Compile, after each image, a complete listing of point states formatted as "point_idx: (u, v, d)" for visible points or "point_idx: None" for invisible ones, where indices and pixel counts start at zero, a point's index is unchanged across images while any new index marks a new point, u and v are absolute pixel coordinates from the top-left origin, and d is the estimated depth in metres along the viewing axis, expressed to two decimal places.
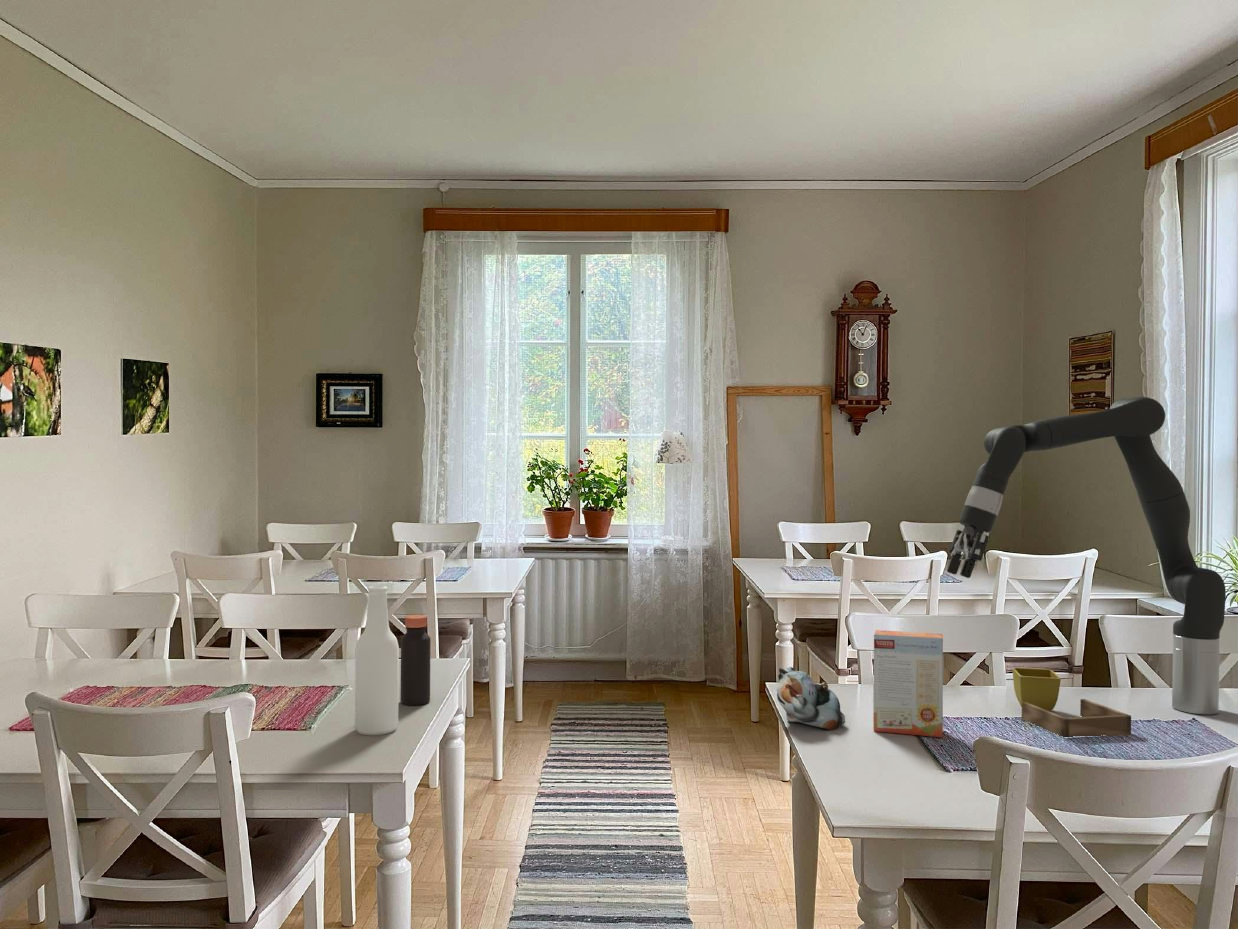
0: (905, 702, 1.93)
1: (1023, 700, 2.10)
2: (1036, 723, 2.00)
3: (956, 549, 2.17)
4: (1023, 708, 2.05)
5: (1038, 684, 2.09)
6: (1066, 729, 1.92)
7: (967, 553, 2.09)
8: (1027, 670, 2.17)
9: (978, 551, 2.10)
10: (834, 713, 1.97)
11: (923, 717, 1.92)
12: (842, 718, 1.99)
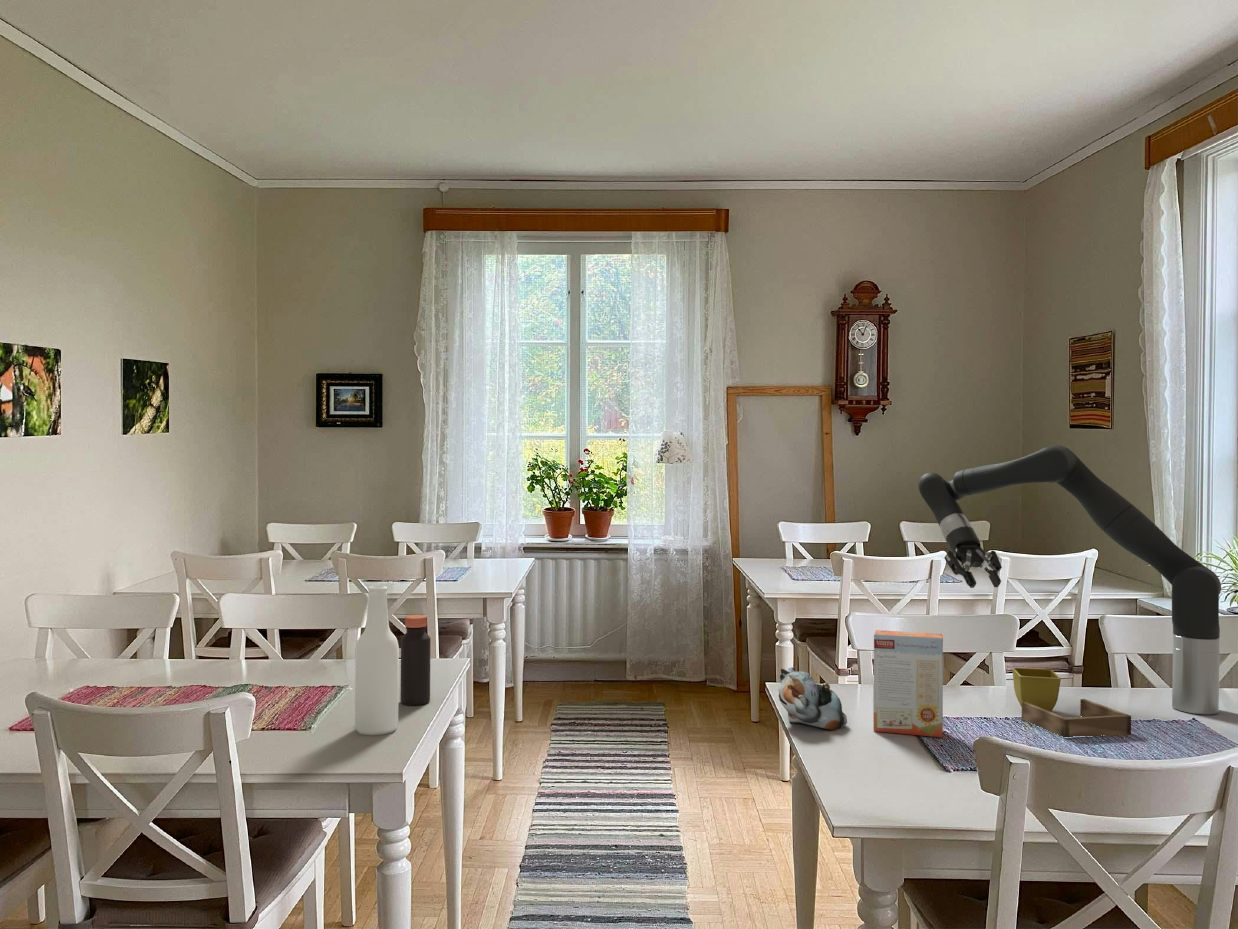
0: (905, 702, 1.93)
1: (1023, 700, 2.10)
2: (1036, 723, 2.00)
3: (982, 569, 2.37)
4: (1023, 708, 2.05)
5: (1038, 684, 2.09)
6: (1066, 729, 1.92)
7: None
8: (1027, 670, 2.17)
9: (965, 562, 2.34)
10: (836, 714, 1.97)
11: (923, 717, 1.92)
12: (844, 718, 1.98)
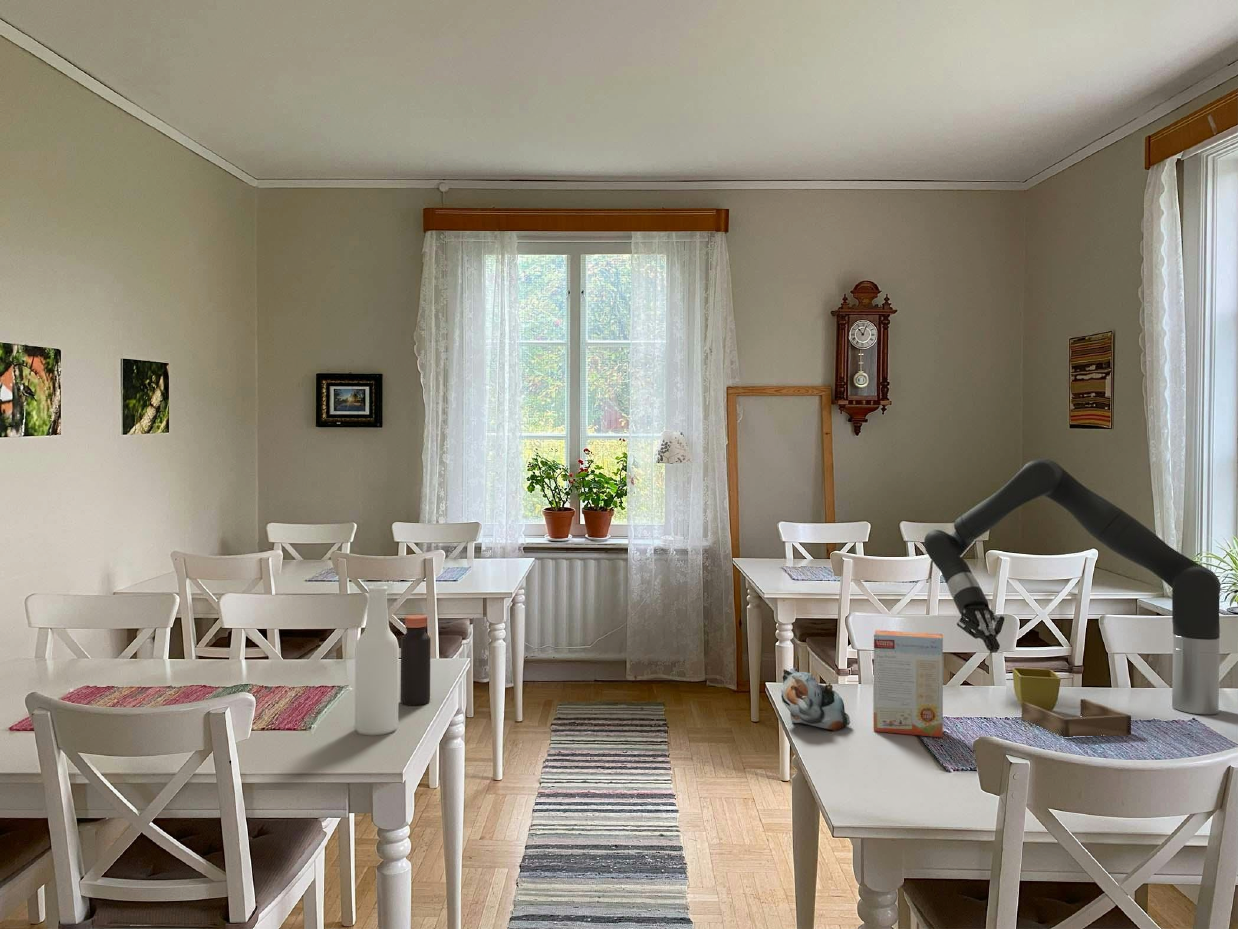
0: (905, 702, 1.93)
1: (1023, 700, 2.10)
2: (1036, 723, 2.00)
3: None
4: (1023, 708, 2.05)
5: (1038, 684, 2.09)
6: (1066, 729, 1.92)
7: None
8: (1027, 670, 2.17)
9: (980, 626, 2.31)
10: (839, 714, 1.96)
11: (923, 717, 1.92)
12: (847, 719, 1.98)
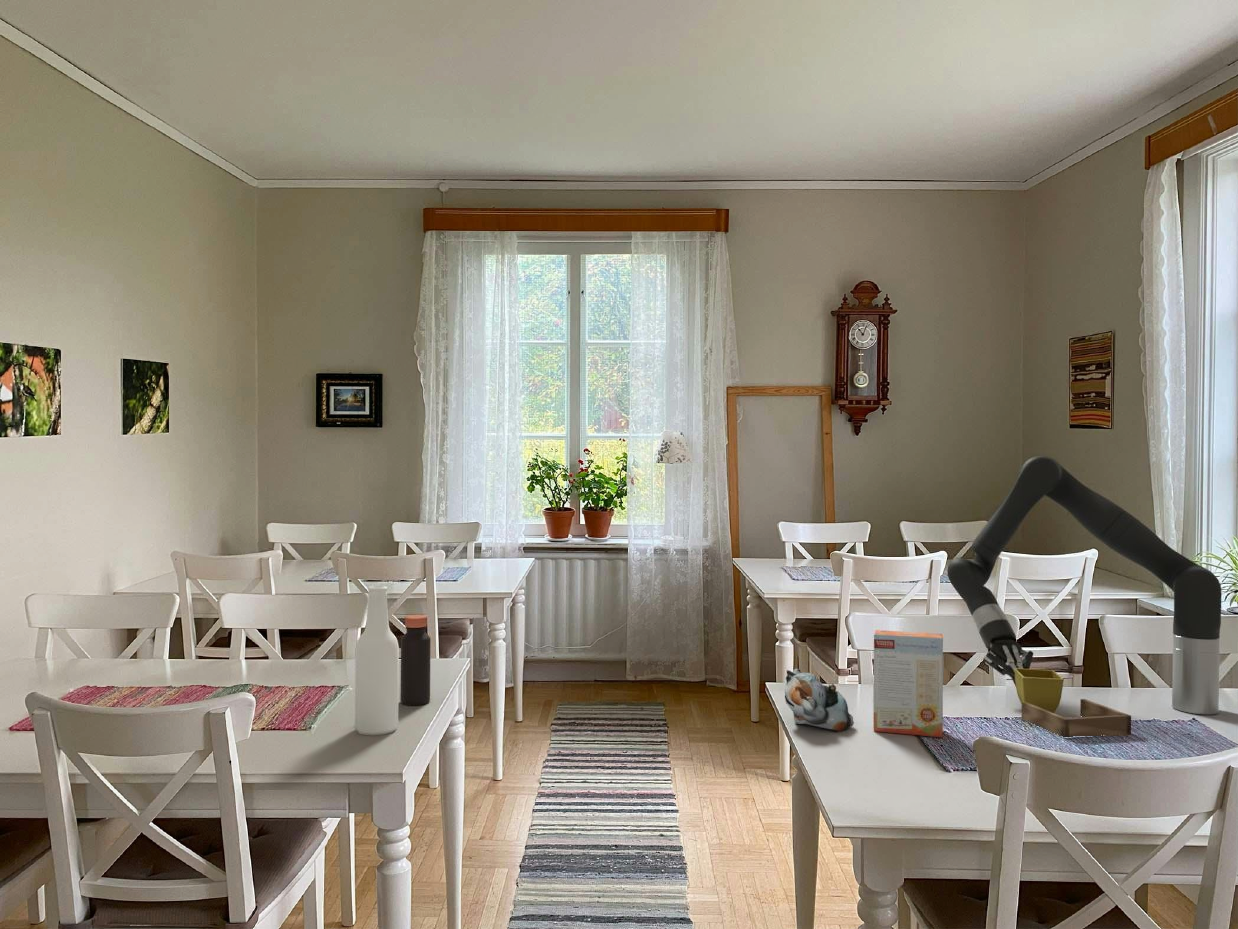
0: (905, 702, 1.93)
1: (1026, 701, 2.09)
2: (1036, 723, 2.00)
3: None
4: (1023, 708, 2.05)
5: (1041, 685, 2.08)
6: (1066, 729, 1.92)
7: None
8: (1029, 671, 2.16)
9: (1008, 662, 2.20)
10: (843, 715, 1.96)
11: (923, 717, 1.92)
12: (851, 719, 1.98)
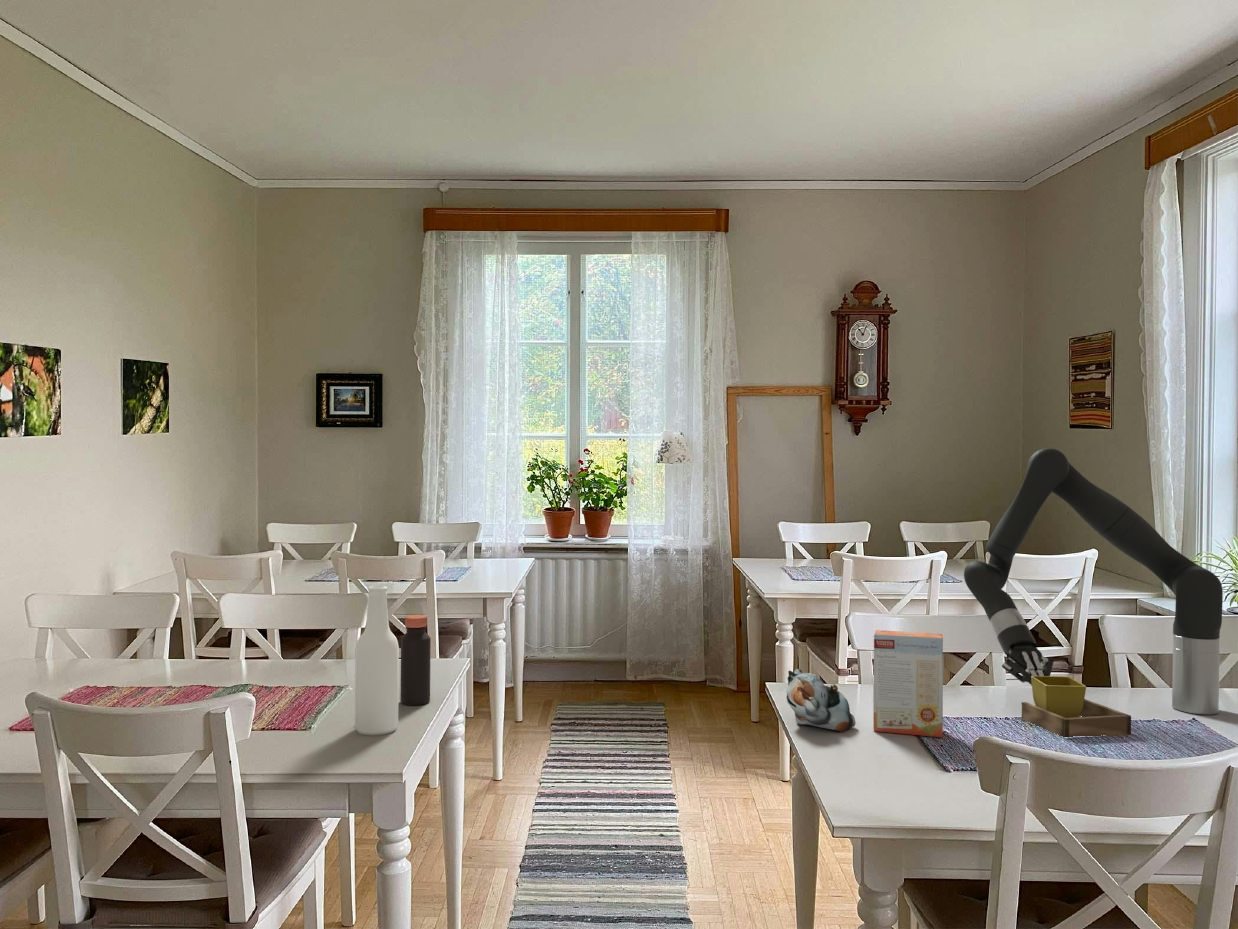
0: (905, 702, 1.93)
1: (1048, 710, 2.01)
2: (1036, 723, 2.00)
3: None
4: (1023, 708, 2.05)
5: (1064, 693, 2.01)
6: (1066, 729, 1.92)
7: None
8: (1046, 678, 2.09)
9: (1028, 669, 2.13)
10: (845, 715, 1.96)
11: (923, 717, 1.92)
12: (852, 720, 1.97)
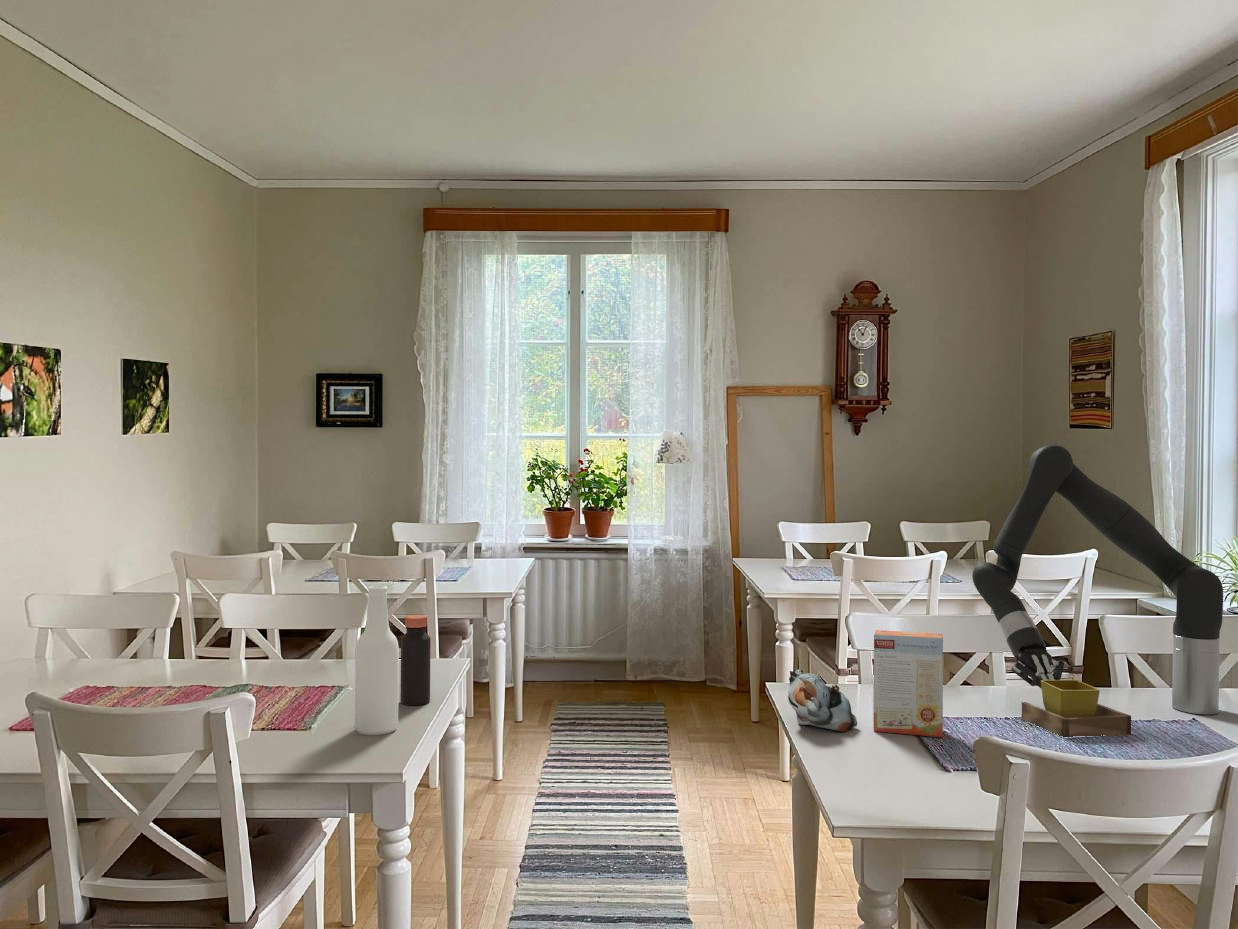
0: (905, 702, 1.93)
1: (1063, 715, 1.97)
2: (1036, 723, 2.00)
3: None
4: (1023, 708, 2.05)
5: (1078, 697, 1.97)
6: (1066, 729, 1.92)
7: None
8: (1055, 682, 2.05)
9: (1038, 672, 2.09)
10: (847, 715, 1.95)
11: (923, 717, 1.92)
12: (854, 720, 1.97)
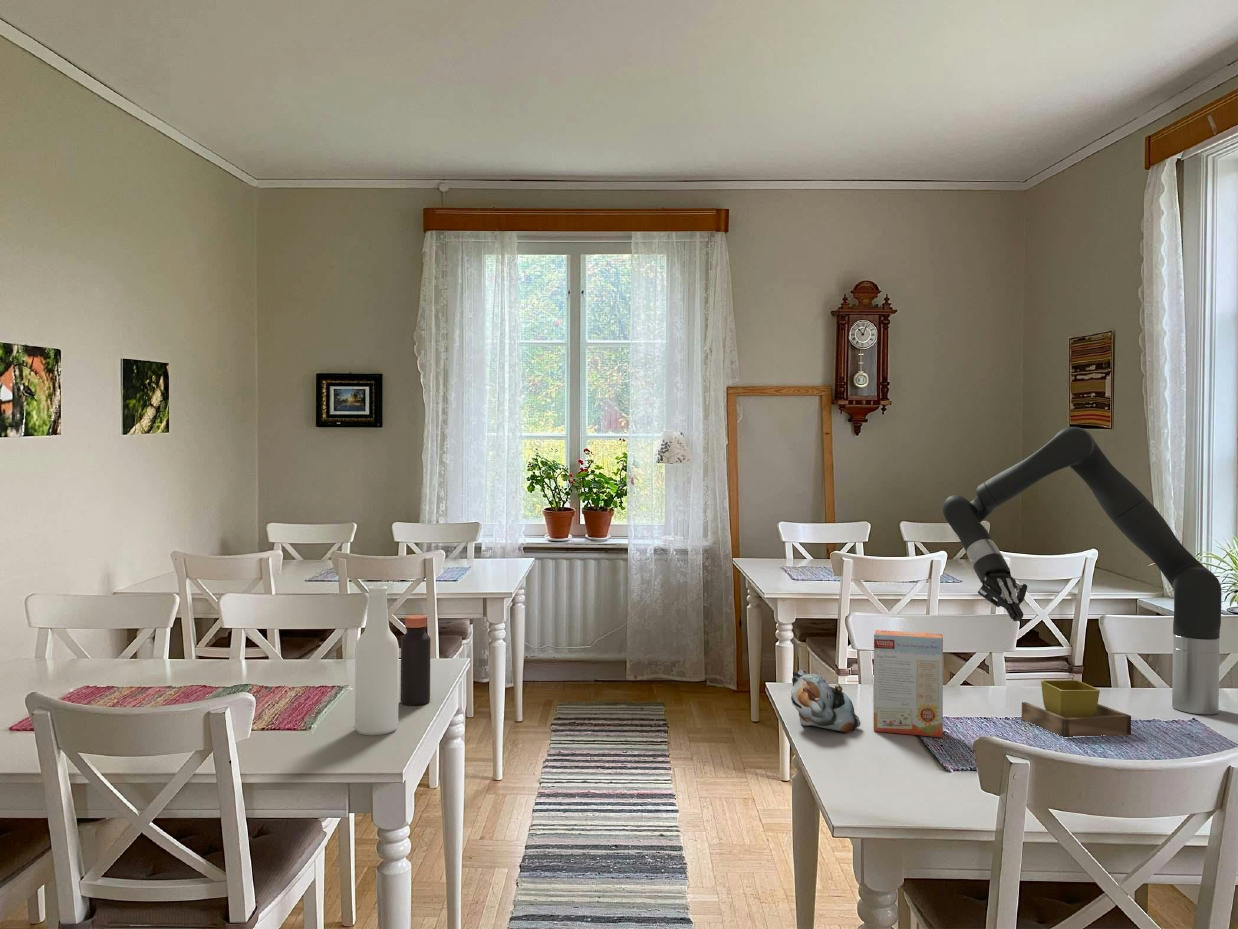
0: (905, 702, 1.93)
1: (1063, 716, 1.97)
2: (1036, 723, 2.00)
3: None
4: (1023, 708, 2.05)
5: (1079, 698, 1.97)
6: (1066, 729, 1.92)
7: None
8: (1055, 683, 2.05)
9: (1003, 594, 2.21)
10: (851, 716, 1.95)
11: (923, 717, 1.92)
12: (857, 720, 1.97)
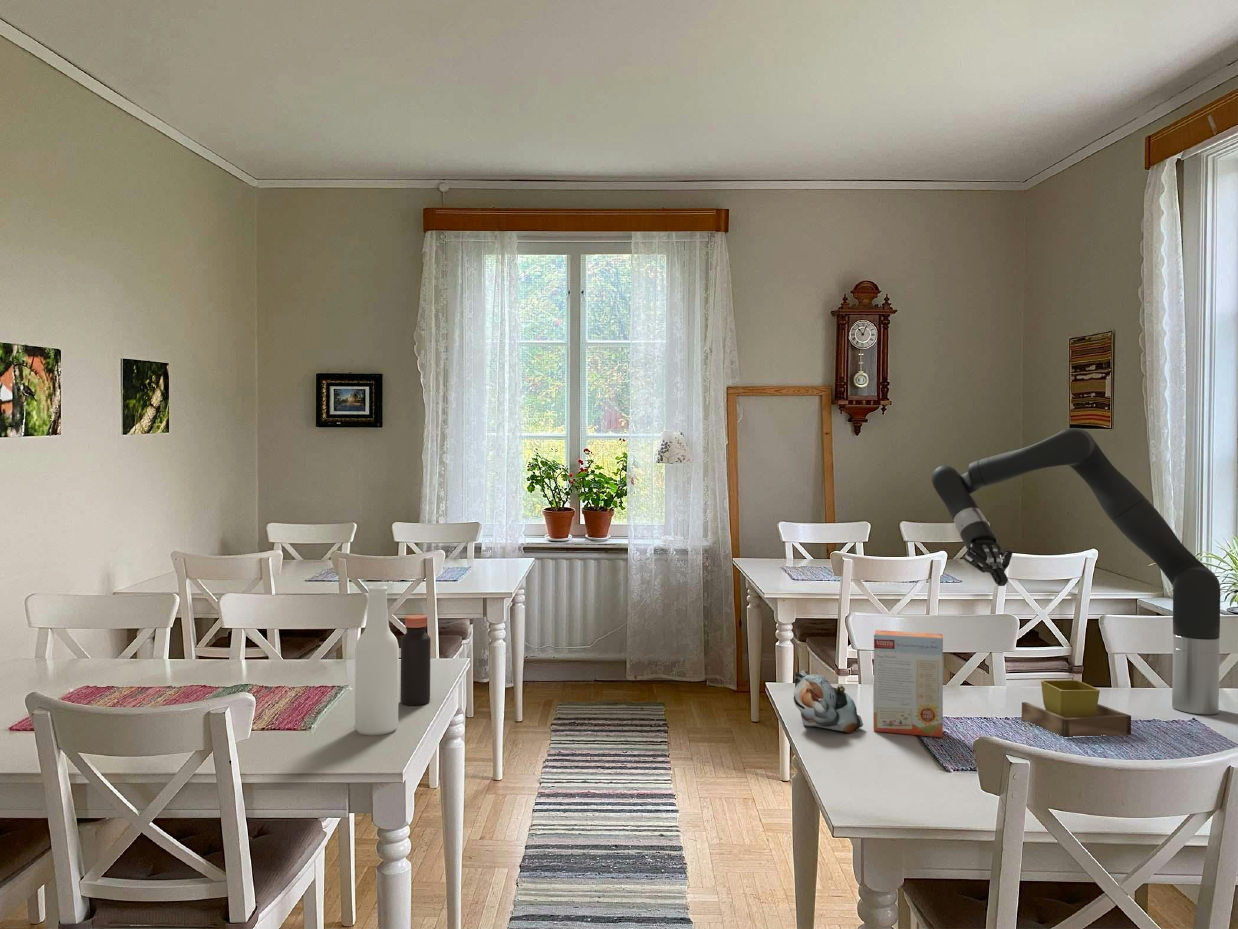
0: (905, 702, 1.93)
1: (1063, 716, 1.97)
2: (1036, 723, 2.00)
3: None
4: (1023, 708, 2.05)
5: (1079, 698, 1.97)
6: (1066, 729, 1.92)
7: None
8: (1055, 683, 2.05)
9: (988, 559, 2.27)
10: (853, 716, 1.95)
11: (923, 717, 1.92)
12: (860, 720, 1.97)
